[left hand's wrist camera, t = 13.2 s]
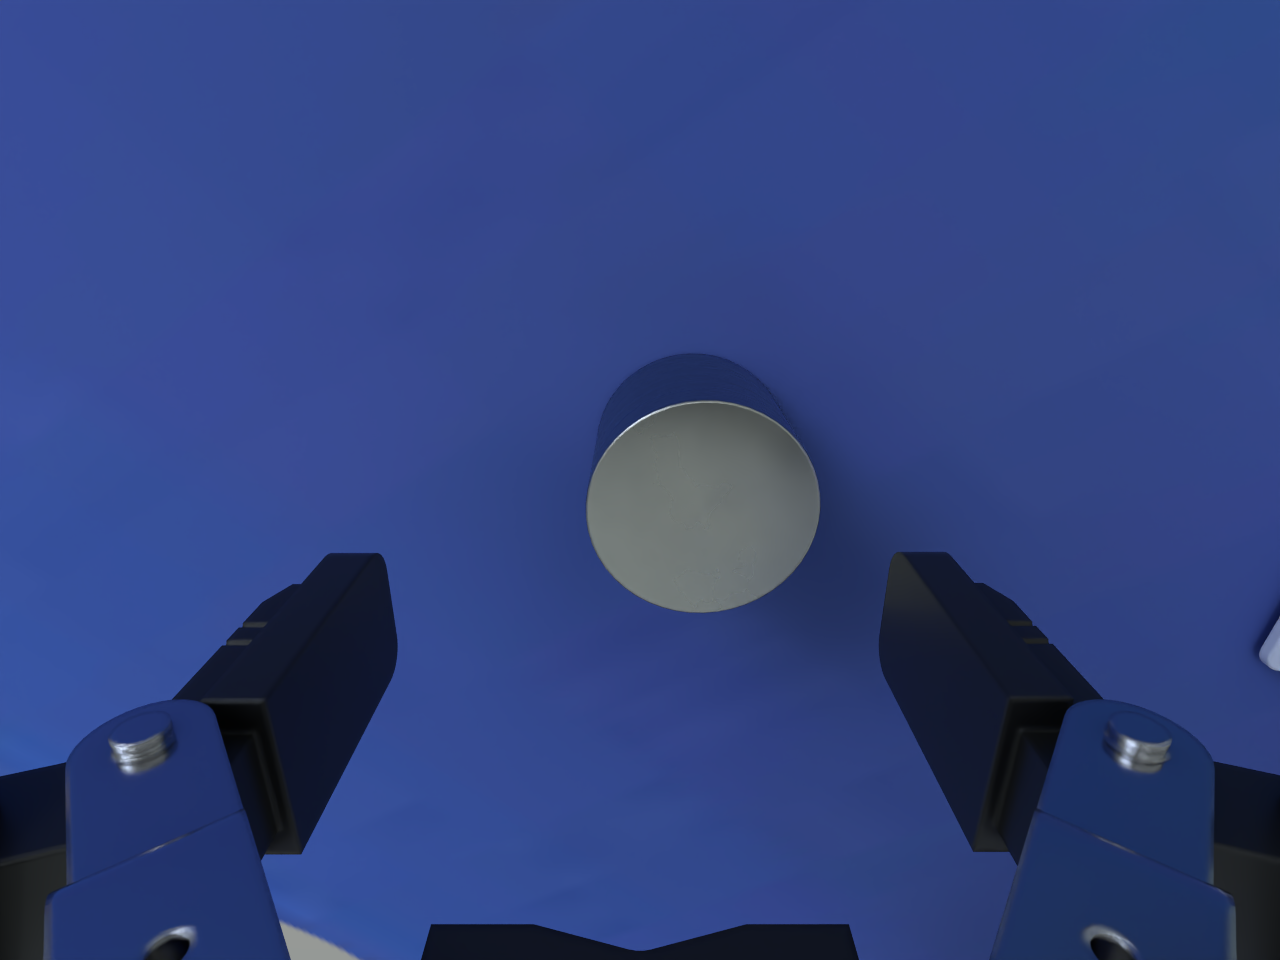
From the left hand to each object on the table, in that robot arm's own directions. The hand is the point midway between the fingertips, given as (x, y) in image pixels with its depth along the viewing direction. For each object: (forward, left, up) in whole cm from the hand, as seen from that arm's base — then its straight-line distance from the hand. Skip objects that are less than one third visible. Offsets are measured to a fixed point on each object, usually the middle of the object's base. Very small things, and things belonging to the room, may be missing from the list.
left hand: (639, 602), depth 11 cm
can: (-1, 0, -8) cm, 8 cm away
